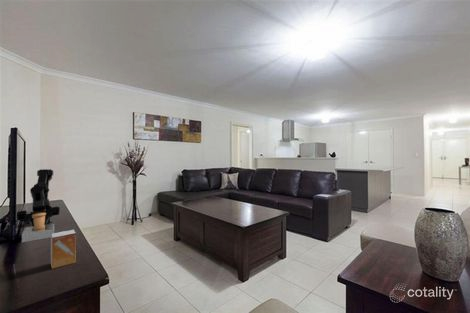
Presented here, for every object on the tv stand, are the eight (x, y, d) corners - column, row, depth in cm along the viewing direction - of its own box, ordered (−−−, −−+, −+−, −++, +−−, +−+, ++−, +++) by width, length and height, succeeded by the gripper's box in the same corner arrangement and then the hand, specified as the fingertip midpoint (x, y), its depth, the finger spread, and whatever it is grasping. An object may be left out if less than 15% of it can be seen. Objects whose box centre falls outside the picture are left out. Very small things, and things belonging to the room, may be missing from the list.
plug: (29, 237, 123) (29, 214, 123) (39, 234, 129) (40, 212, 129) (38, 238, 123) (38, 215, 123) (48, 234, 128) (48, 212, 128)
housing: (21, 242, 117) (21, 234, 117) (25, 235, 127) (25, 227, 127) (53, 236, 125) (53, 229, 125) (54, 230, 135) (54, 223, 135)
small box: (51, 269, 89) (51, 237, 89) (50, 263, 93) (50, 233, 93) (76, 262, 94) (76, 232, 94) (73, 257, 99) (73, 229, 99)
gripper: (16, 197, 122) (15, 220, 114) (59, 193, 135) (61, 214, 127) (17, 208, 128) (16, 232, 120) (58, 204, 141) (59, 224, 133)
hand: (39, 225), depth 125 cm, fingers closed on plug, 5 cm apart
